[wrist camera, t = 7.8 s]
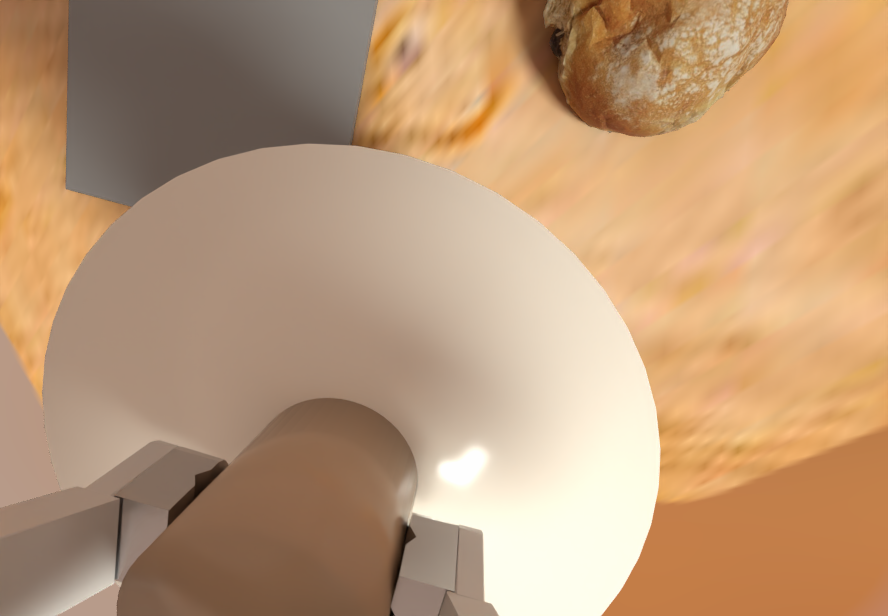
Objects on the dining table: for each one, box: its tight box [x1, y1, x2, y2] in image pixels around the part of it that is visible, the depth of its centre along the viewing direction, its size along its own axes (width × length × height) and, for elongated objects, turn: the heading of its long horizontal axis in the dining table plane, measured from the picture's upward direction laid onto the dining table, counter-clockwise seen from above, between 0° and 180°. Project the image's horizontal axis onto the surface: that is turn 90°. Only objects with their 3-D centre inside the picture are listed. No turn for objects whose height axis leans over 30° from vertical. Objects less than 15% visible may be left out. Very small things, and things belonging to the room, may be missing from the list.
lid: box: [42, 144, 660, 616], centre depth 9 cm, size 15×15×5 cm
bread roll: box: [543, 0, 788, 137], centre depth 20 cm, size 10×10×8 cm
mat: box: [66, 0, 378, 207], centre depth 24 cm, size 17×17×1 cm
